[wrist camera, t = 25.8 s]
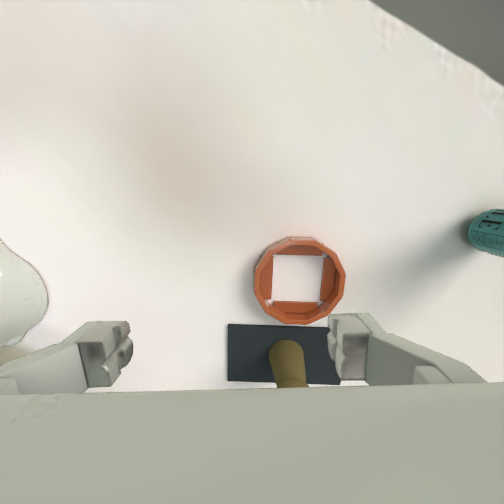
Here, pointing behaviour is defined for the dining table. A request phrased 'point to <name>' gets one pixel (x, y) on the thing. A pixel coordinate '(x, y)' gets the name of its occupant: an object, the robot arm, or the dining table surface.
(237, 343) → the mat
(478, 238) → the beverage bottle
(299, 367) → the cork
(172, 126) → the dining table surface
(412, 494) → the robot arm
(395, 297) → the dining table surface
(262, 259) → the orange ring
